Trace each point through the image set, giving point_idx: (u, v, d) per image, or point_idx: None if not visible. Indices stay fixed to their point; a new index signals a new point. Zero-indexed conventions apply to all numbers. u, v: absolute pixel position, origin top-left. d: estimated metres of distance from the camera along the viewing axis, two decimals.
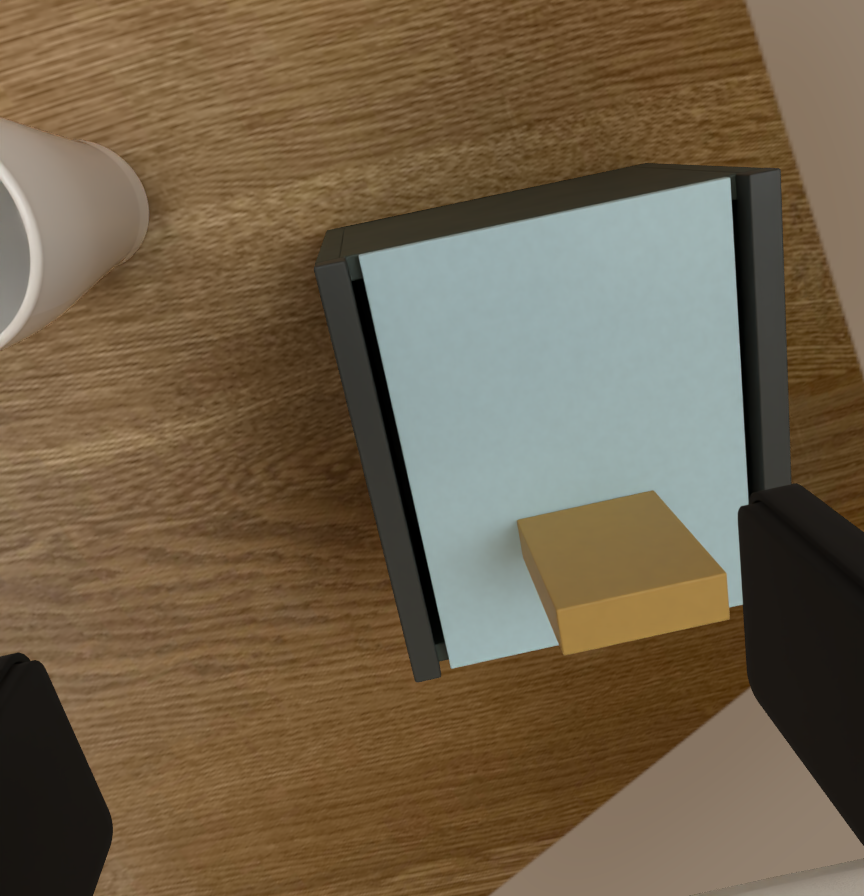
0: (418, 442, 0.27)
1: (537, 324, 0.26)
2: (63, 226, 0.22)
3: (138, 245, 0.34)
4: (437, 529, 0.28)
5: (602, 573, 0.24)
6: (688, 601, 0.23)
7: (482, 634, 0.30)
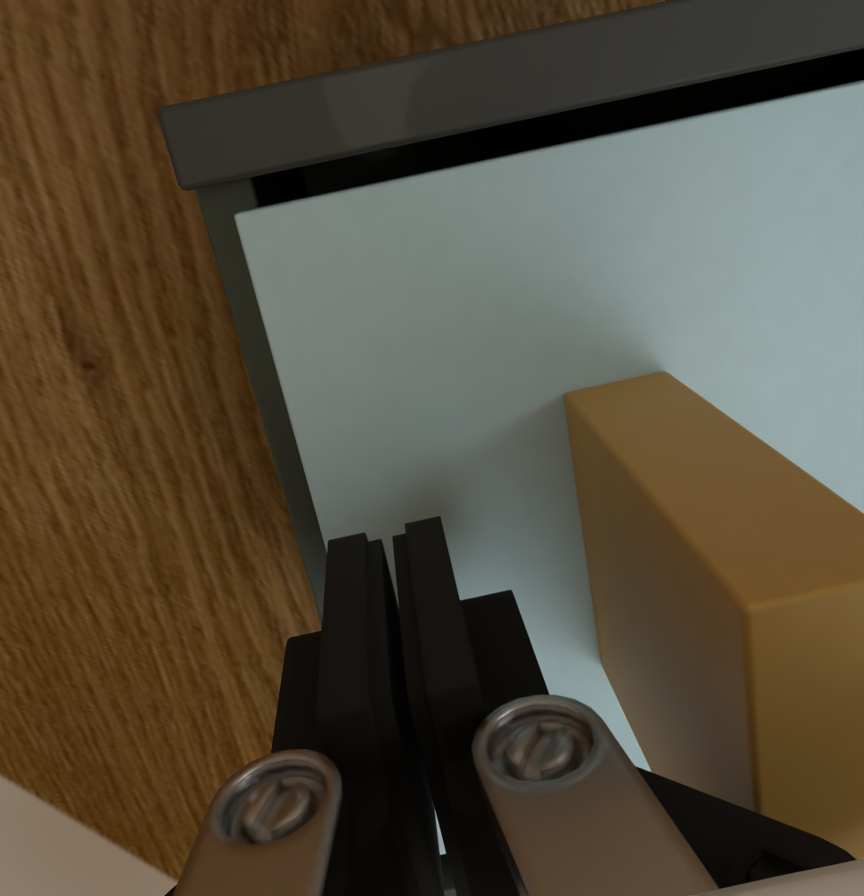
0: None
1: None
2: None
3: None
4: (668, 169, 0.11)
5: None
6: None
7: (347, 301, 0.11)
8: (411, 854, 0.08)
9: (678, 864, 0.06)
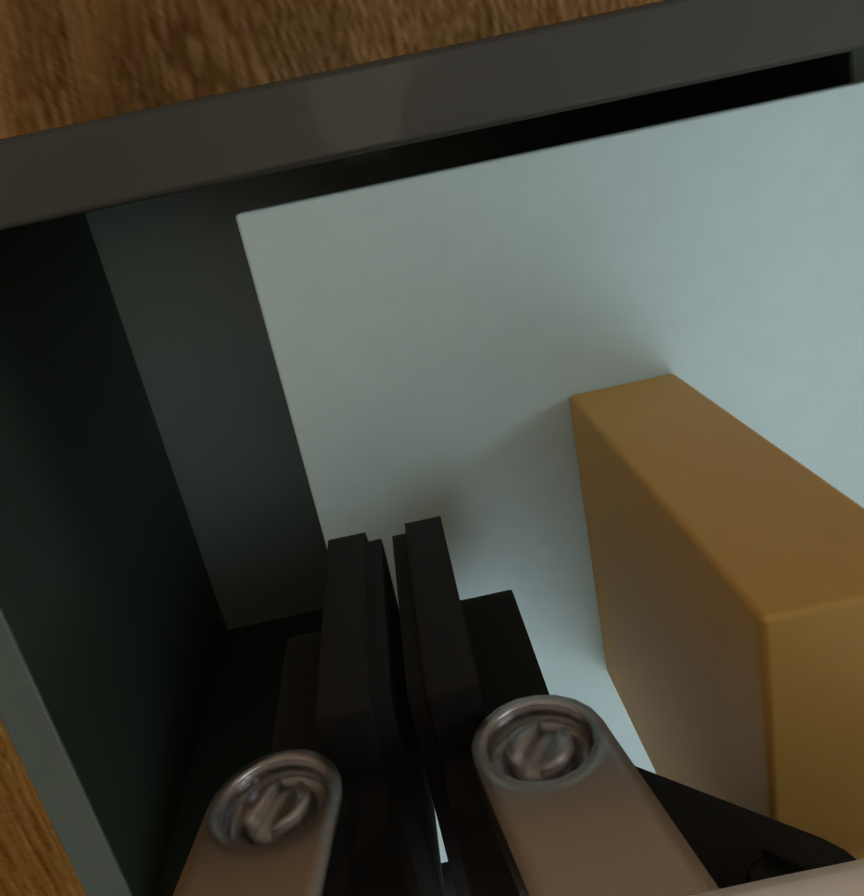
0: None
1: None
2: None
3: None
4: (675, 168, 0.11)
5: None
6: None
7: (350, 303, 0.11)
8: (411, 854, 0.08)
9: (677, 864, 0.06)
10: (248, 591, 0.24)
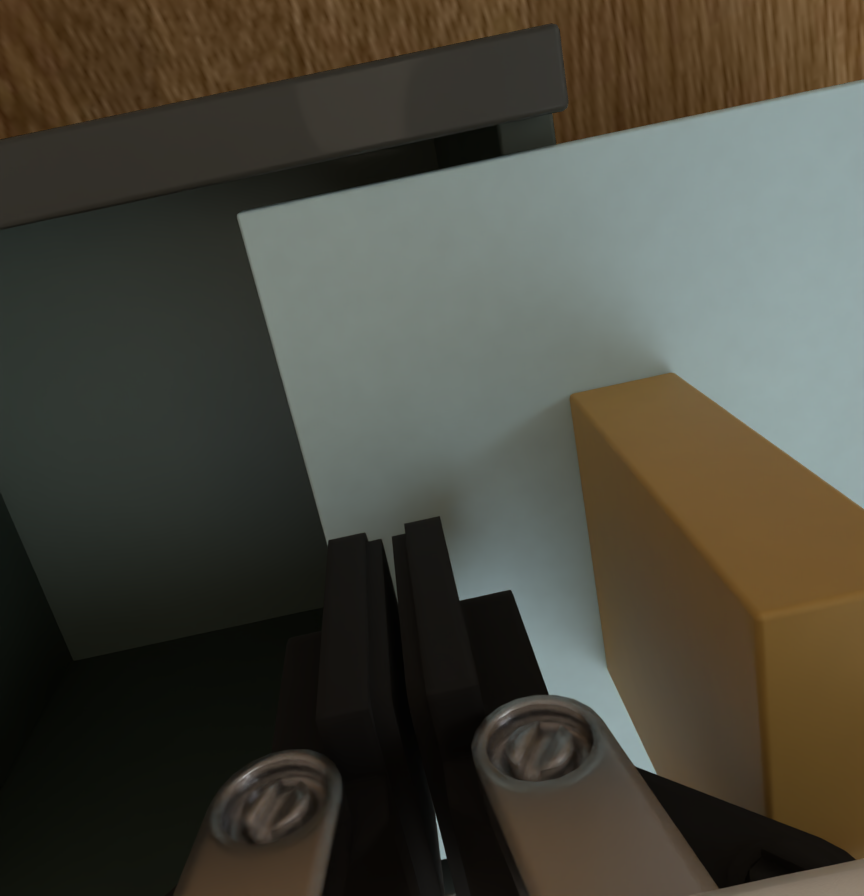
0: None
1: None
2: None
3: None
4: (675, 167, 0.11)
5: None
6: None
7: (350, 302, 0.11)
8: (411, 854, 0.08)
9: (677, 864, 0.06)
10: (92, 623, 0.25)
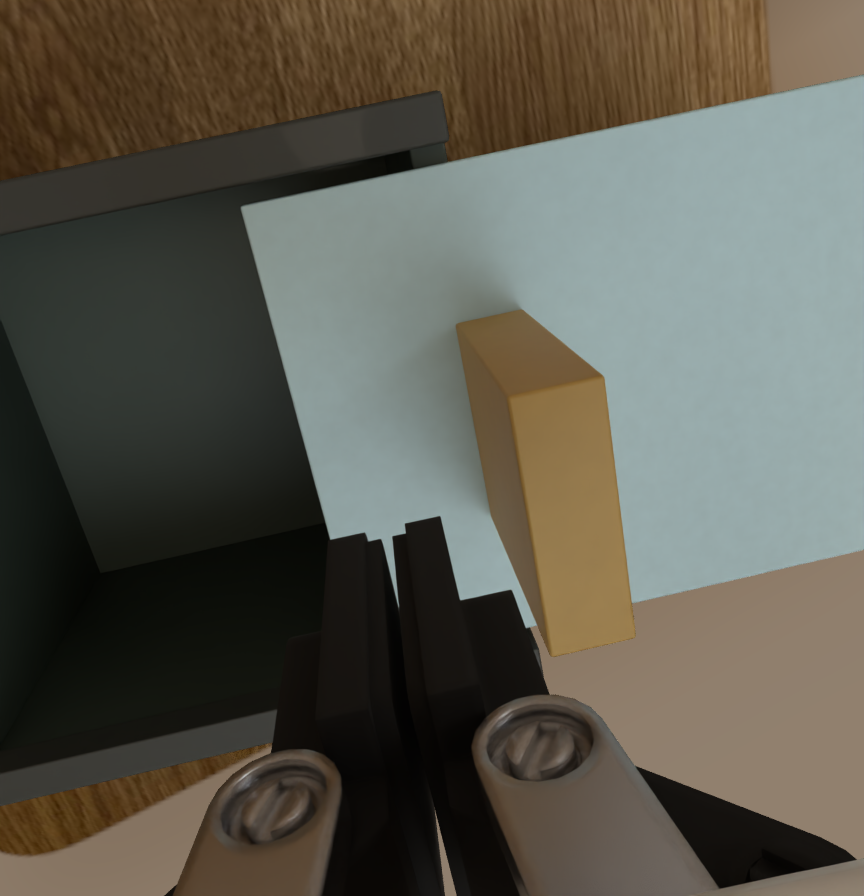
0: (665, 146, 0.17)
1: (808, 321, 0.19)
2: None
3: None
4: (515, 178, 0.17)
5: None
6: (594, 591, 0.14)
7: (312, 263, 0.17)
8: (411, 854, 0.08)
9: (678, 864, 0.06)
10: (116, 541, 0.31)
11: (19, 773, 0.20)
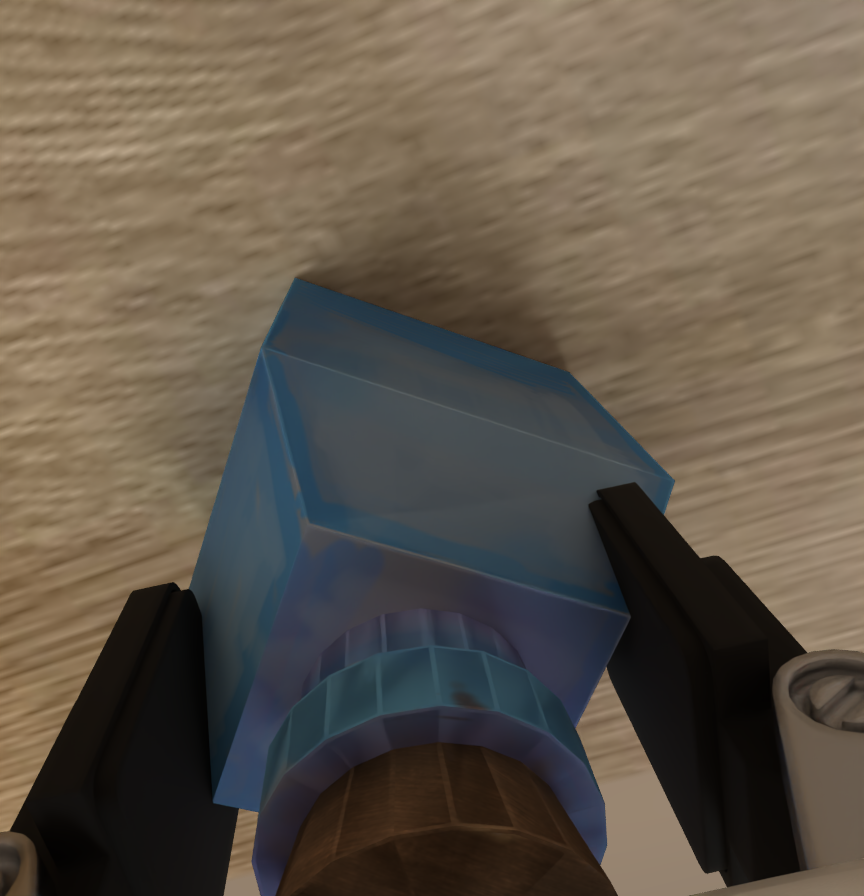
0: None
1: None
2: None
3: None
4: None
5: None
6: None
7: None
8: None
9: None
10: None
11: None
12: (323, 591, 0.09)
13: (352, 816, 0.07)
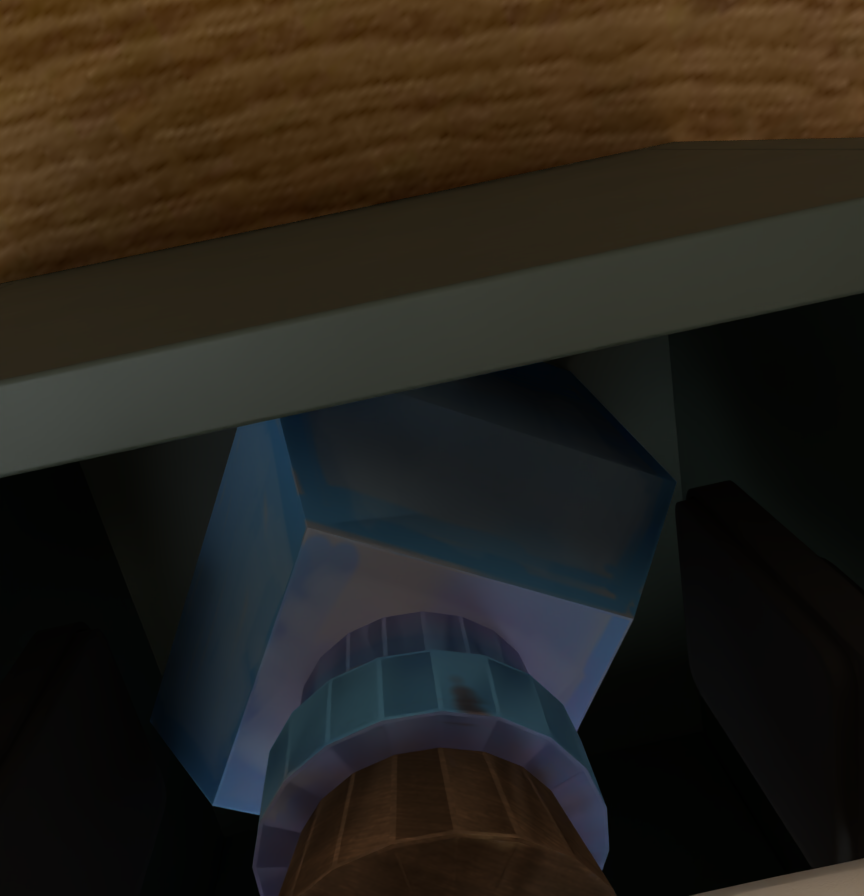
0: None
1: None
2: None
3: None
4: None
5: None
6: None
7: None
8: None
9: None
10: None
11: None
12: (324, 595, 0.09)
13: (354, 823, 0.06)
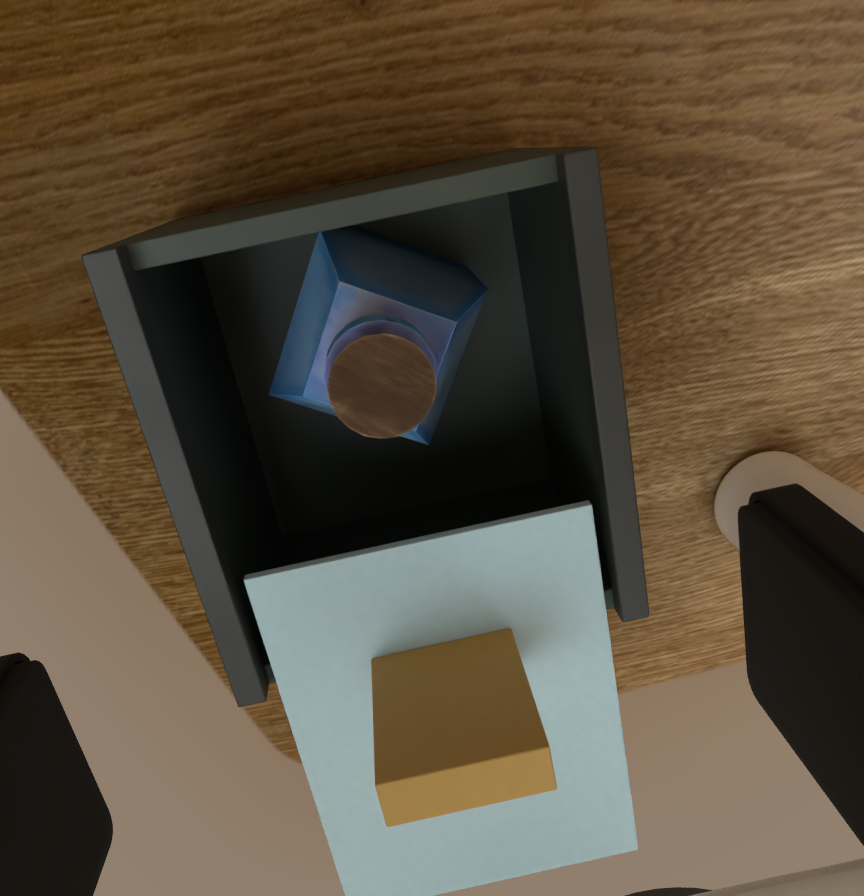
0: (606, 727, 0.30)
1: (499, 816, 0.31)
2: None
3: (733, 479, 0.38)
4: (595, 653, 0.29)
5: None
6: (422, 802, 0.23)
7: (554, 545, 0.27)
8: None
9: None
10: (228, 256, 0.33)
11: (133, 315, 0.23)
12: (345, 308, 0.26)
13: None
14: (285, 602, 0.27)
